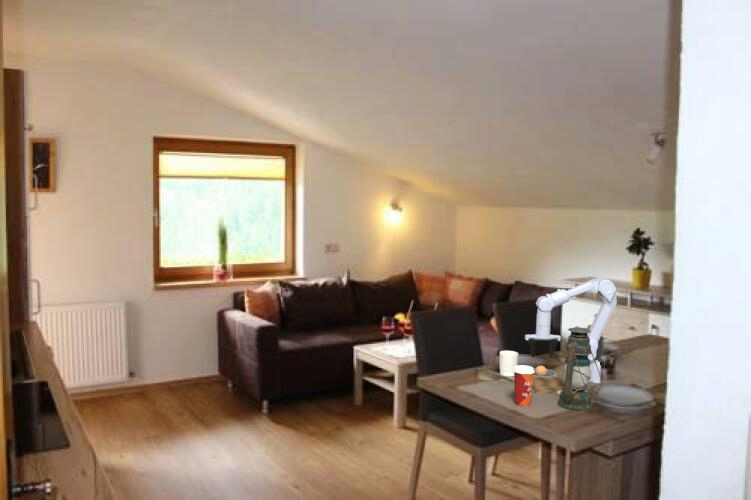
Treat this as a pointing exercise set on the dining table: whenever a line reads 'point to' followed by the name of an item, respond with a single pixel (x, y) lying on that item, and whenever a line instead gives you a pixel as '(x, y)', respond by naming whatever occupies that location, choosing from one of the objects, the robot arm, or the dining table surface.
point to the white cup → (508, 362)
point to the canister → (600, 345)
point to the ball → (541, 371)
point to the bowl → (548, 375)
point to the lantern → (577, 372)
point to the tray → (547, 385)
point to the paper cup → (523, 384)
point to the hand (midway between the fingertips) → (541, 357)
